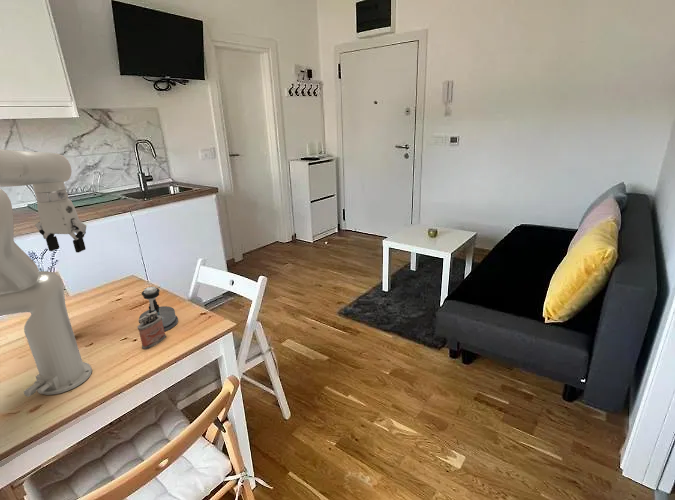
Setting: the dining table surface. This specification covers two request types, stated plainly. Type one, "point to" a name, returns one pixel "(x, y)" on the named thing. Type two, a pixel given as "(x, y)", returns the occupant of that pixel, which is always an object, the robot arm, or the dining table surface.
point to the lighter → (151, 330)
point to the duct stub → (166, 317)
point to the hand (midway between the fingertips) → (67, 250)
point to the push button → (152, 298)
